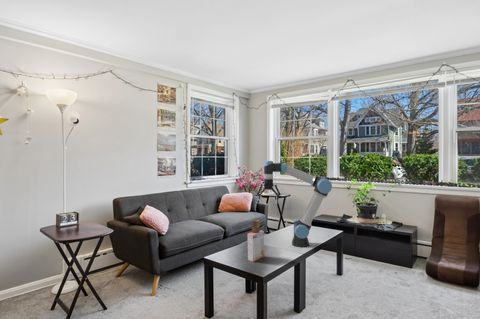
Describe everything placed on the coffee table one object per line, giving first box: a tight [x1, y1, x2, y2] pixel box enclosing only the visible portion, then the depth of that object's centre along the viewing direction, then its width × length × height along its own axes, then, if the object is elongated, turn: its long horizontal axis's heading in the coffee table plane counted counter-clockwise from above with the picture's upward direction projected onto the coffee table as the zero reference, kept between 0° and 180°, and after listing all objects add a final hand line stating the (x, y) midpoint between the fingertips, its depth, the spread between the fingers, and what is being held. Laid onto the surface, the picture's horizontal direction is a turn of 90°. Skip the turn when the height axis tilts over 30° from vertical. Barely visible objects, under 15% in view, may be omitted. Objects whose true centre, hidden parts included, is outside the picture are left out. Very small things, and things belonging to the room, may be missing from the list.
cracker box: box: [247, 230, 265, 263], centre depth 227 cm, size 14×6×21 cm, turn 138°
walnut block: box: [251, 219, 261, 233], centre depth 227 cm, size 5×5×9 cm
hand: (268, 203), depth 252 cm, fingers open, 13 cm apart
